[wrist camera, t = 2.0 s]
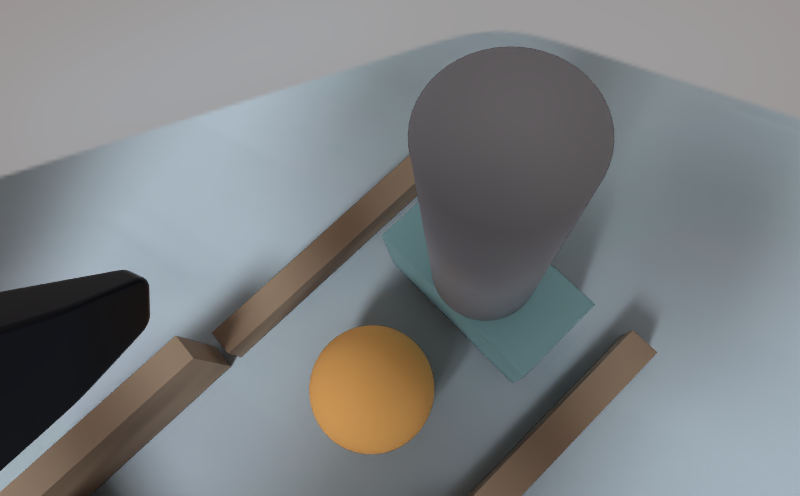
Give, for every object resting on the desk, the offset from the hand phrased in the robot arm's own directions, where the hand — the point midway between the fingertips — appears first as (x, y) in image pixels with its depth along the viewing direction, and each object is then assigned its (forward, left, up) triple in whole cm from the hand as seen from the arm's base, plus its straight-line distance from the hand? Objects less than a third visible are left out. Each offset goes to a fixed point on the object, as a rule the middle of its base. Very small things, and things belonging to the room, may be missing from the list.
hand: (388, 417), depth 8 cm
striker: (+4, +2, -11) cm, 12 cm away
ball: (-1, +2, -9) cm, 10 cm away
